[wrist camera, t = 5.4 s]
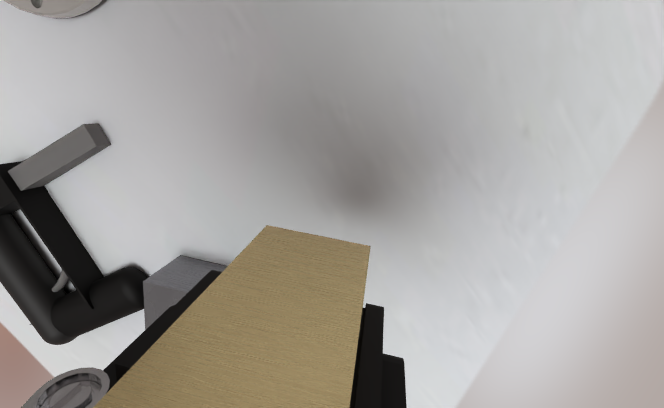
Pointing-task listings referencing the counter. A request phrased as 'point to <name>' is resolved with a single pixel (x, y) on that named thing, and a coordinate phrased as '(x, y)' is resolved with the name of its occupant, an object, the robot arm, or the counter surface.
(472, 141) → the counter surface
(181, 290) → the grey peg hole block
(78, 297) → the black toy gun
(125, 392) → the brass peg
